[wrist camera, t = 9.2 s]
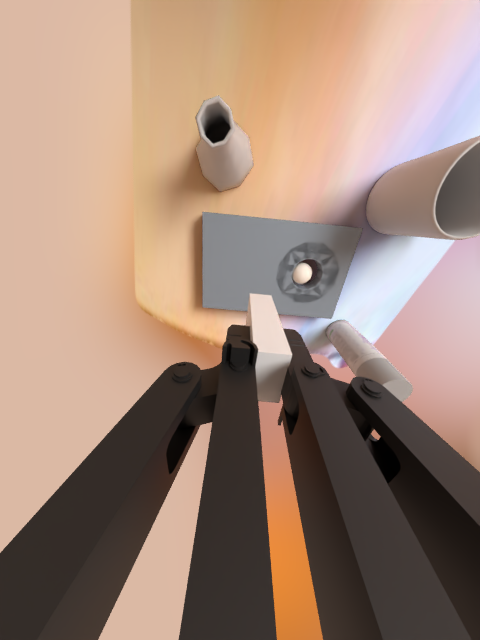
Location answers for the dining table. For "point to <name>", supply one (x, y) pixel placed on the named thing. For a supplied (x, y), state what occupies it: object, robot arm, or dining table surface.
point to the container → (367, 359)
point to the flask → (222, 146)
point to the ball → (301, 273)
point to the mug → (430, 195)
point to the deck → (274, 263)
